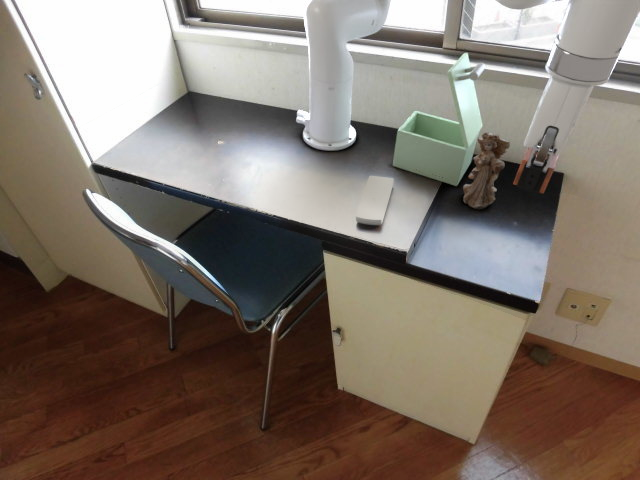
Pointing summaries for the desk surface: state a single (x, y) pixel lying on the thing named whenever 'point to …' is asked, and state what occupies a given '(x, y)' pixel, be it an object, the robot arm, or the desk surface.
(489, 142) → the figurine
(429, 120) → the chest
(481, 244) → the desk surface
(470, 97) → the lid
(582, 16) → the robot arm
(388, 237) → the desk surface
